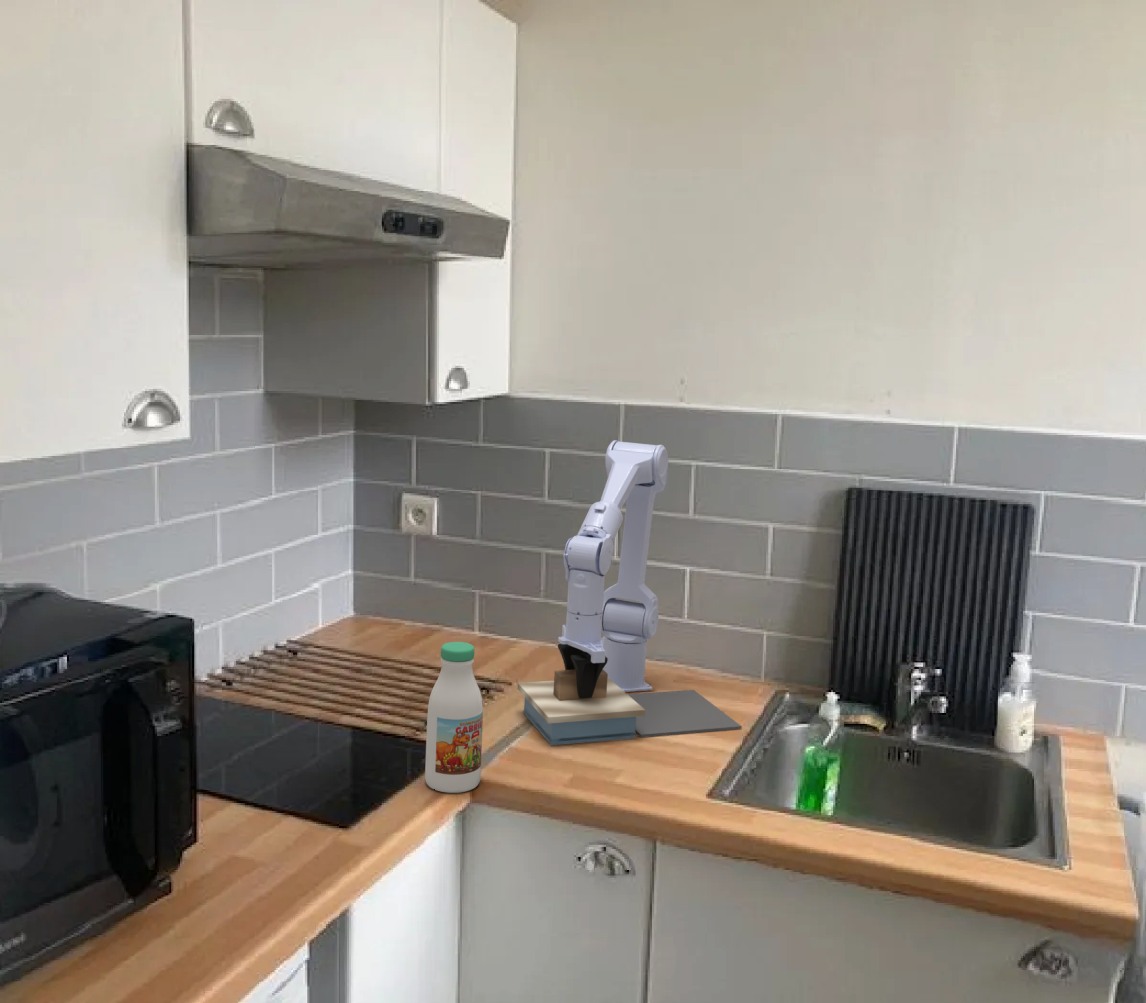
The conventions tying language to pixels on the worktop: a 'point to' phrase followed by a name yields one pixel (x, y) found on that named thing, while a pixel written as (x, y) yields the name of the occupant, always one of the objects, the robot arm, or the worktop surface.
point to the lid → (578, 699)
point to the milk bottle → (454, 723)
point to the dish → (581, 728)
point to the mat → (679, 714)
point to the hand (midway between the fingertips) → (580, 692)
